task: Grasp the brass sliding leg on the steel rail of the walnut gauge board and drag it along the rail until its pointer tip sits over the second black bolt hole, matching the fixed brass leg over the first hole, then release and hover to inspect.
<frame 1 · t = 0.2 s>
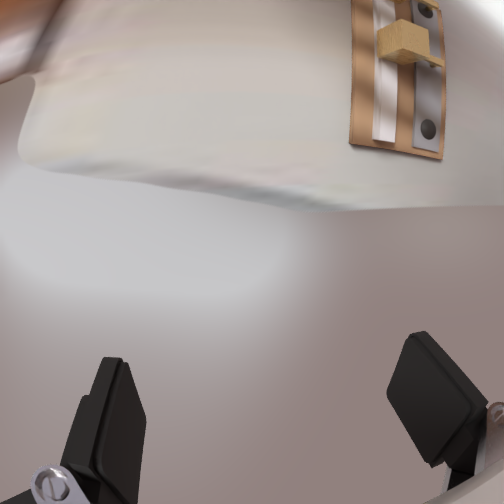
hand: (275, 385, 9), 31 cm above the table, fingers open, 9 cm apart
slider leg: (420, 51, 27), point 6 cm above the table, slide at 0.0 cm
gauge board: (401, 65, 33), on the table
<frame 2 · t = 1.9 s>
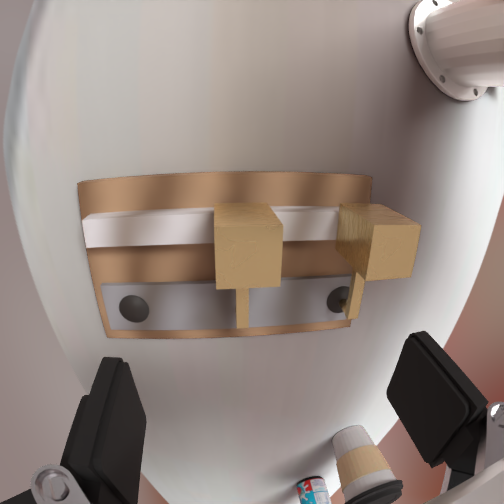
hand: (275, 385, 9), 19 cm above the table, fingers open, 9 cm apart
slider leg: (243, 280, 23), point 6 cm above the table, slide at 0.0 cm
coffee cup: (348, 434, 43), on the table
gauge board: (226, 259, 28), on the table
beverage can: (309, 480, 49), on the table
fixed leg: (344, 215, 28), resting on gauge board
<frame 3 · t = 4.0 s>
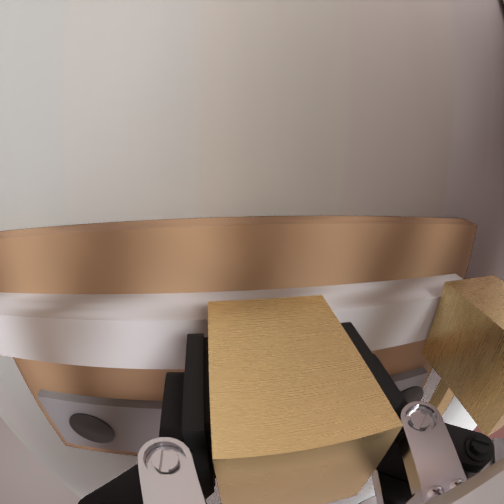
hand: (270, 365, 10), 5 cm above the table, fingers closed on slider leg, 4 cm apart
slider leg: (271, 444, 10), point 6 cm above the table, slide at 0.0 cm, touching gripper
coffee cup: (372, 500, 30), on the table
gauge board: (233, 364, 16), on the table
fixed leg: (426, 285, 15), resting on gauge board
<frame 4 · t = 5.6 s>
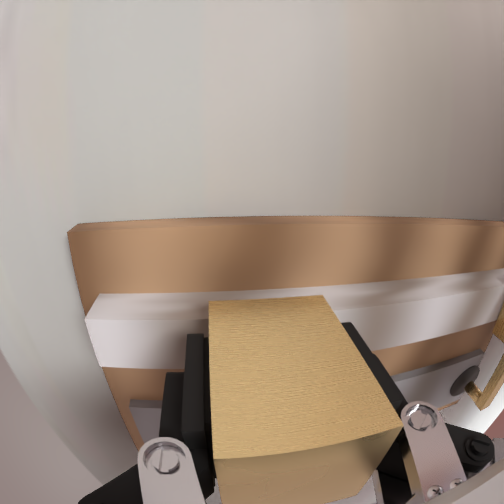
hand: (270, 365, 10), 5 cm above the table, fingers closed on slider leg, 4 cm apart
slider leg: (271, 444, 10), point 6 cm above the table, slide at 6.2 cm, touching gripper
gauge board: (342, 353, 16), on the table
fixed leg: (487, 277, 16), resting on gauge board
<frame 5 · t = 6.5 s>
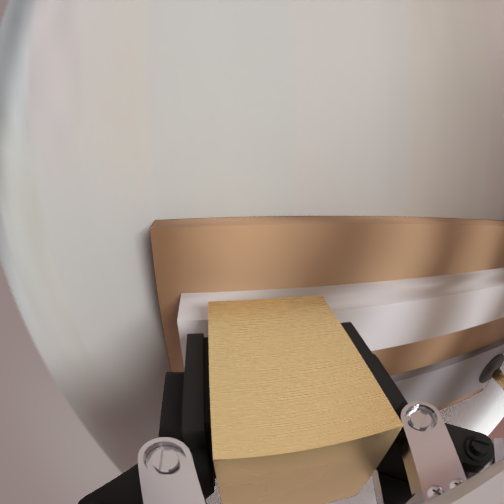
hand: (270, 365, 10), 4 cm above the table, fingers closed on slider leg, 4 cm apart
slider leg: (272, 444, 10), point 6 cm above the table, slide at 9.8 cm, touching gripper
gauge board: (395, 344, 17), on the table
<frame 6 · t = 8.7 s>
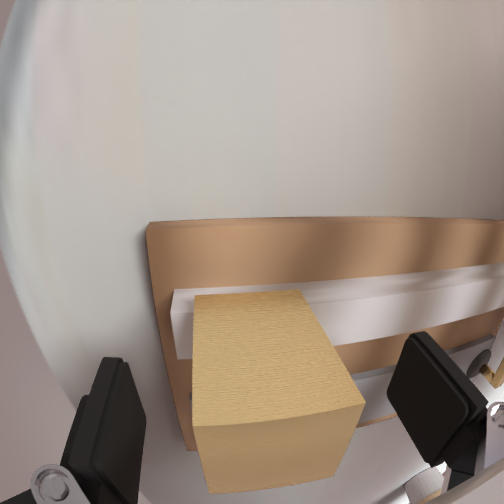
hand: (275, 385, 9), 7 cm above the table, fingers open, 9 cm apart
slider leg: (255, 430, 11), point 6 cm above the table, slide at 10.0 cm
coffee cup: (419, 475, 32), on the table
gauge board: (379, 339, 18), on the table
fixed leg: (496, 269, 18), resting on gauge board
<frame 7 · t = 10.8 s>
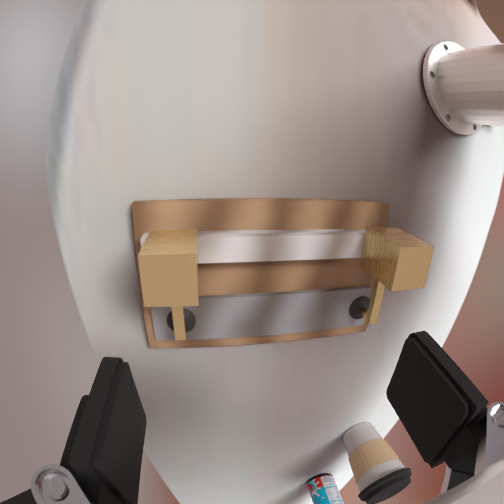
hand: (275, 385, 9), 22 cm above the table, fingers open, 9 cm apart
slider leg: (175, 298, 25), point 6 cm above the table, slide at 10.0 cm
coffee cup: (356, 430, 47), on the table
gauge board: (266, 274, 32), on the table
beverage can: (319, 478, 52), on the table
fixed leg: (364, 236, 33), resting on gauge board
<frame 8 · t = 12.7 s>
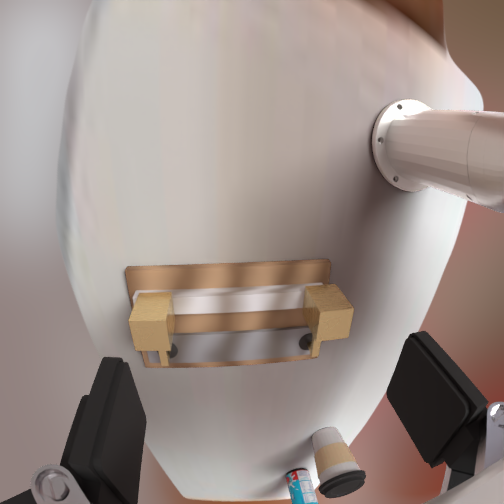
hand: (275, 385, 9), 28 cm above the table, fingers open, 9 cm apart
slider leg: (158, 340, 34), point 6 cm above the table, slide at 10.0 cm
coffee cup: (324, 433, 56), on the table
gauge board: (230, 317, 41), on the table
beverage can: (296, 472, 62), on the table
fixed leg: (311, 286, 41), resting on gauge board
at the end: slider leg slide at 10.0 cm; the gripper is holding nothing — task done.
